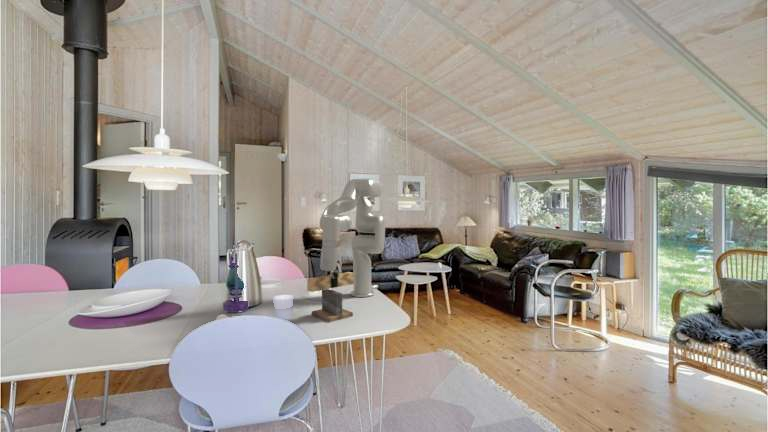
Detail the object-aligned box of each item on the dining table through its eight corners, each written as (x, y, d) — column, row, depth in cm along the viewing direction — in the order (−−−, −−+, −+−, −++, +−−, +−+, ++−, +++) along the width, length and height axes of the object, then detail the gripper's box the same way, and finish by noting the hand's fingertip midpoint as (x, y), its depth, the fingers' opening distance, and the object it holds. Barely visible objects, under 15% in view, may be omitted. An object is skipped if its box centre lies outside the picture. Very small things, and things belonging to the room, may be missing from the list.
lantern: (223, 307, 179) (221, 244, 178) (249, 305, 183) (248, 243, 182) (223, 315, 167) (221, 247, 165) (251, 312, 171) (249, 246, 170)
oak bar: (349, 282, 174) (349, 271, 174) (353, 283, 172) (353, 272, 172) (307, 290, 159) (307, 278, 159) (311, 292, 157) (311, 279, 157)
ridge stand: (334, 309, 176) (333, 286, 175) (352, 315, 165) (352, 292, 165) (311, 314, 167) (311, 291, 167) (329, 322, 157) (329, 296, 157)
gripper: (313, 243, 169) (313, 284, 169) (335, 246, 156) (335, 291, 157) (327, 242, 174) (327, 282, 174) (349, 245, 161) (350, 288, 162)
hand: (331, 286), depth 166 cm, fingers closed on oak bar, 3 cm apart
